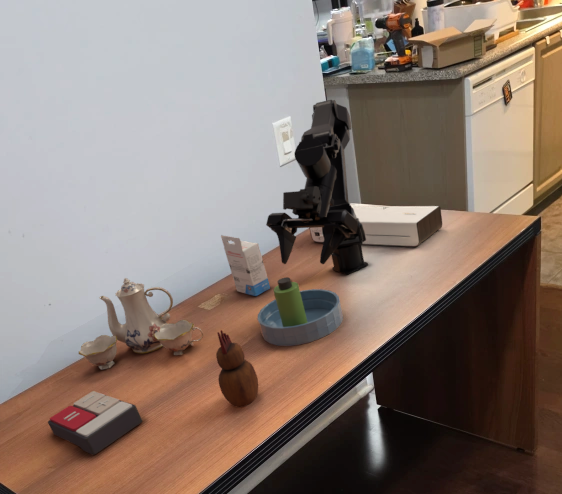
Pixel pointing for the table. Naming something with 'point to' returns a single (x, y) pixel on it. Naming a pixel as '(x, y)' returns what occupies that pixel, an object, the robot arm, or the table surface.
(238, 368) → the wooden figurine
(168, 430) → the table surface
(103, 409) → the calculator
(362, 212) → the laminator
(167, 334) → the chinaware
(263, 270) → the ink box
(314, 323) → the basin
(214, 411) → the table surface
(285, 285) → the green bottle
